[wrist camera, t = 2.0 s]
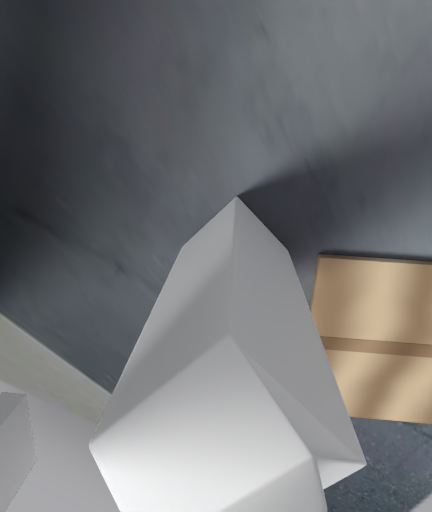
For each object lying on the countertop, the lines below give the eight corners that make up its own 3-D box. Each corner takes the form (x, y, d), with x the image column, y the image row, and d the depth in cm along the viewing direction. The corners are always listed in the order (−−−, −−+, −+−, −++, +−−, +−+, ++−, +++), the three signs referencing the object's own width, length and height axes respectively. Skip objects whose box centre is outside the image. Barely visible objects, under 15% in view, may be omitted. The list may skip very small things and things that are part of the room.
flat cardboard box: (294, 405, 33) (295, 412, 32) (317, 253, 28) (320, 257, 27) (460, 419, 33) (465, 427, 32) (516, 267, 27) (524, 271, 26)
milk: (181, 245, 29) (20, 565, 8) (237, 194, 27) (217, 429, 6) (234, 297, 30) (211, 688, 9) (290, 250, 28) (420, 605, 7)
